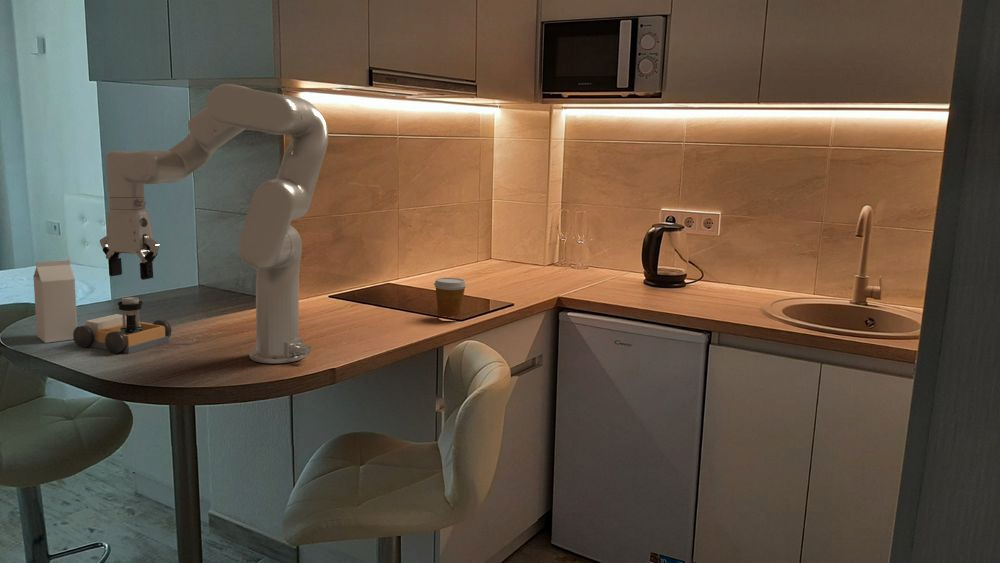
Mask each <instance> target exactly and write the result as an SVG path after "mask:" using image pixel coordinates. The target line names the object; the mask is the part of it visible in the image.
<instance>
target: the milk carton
mask: <svg viewBox="0 0 1000 563" xmlns="http://www.w3.org/2000/svg"><path fill="white" fill-rule="evenodd" d="M35 266H36V267H35V270H34V273H33V276H32V277H33V294H34V305H35V306H34V307H35V324H36V325H35V326H36V337H37V338H38V339H40V340H41V341H42V342H44V343H45V344H46V343H55V342H62V341H71V340H74V338H73V332H74V330H75V328H76V327H78V319H77V318H78V317H77V298H76V297H77V296H76V278H75V275H74V272H73V270H72V266H71V261H70V260H69V259H68V260H54V261H37V262H36V263H35Z"/></svg>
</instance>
